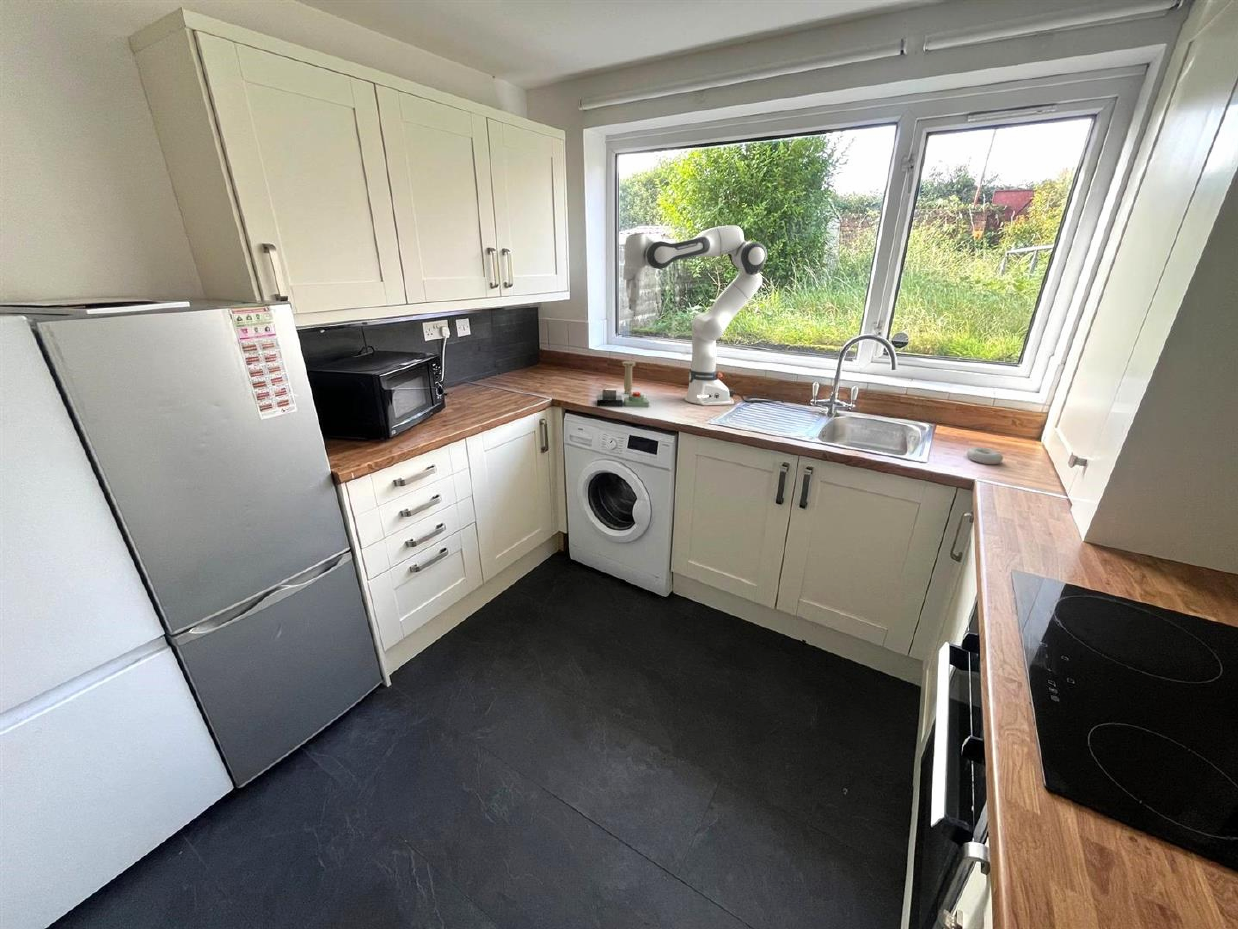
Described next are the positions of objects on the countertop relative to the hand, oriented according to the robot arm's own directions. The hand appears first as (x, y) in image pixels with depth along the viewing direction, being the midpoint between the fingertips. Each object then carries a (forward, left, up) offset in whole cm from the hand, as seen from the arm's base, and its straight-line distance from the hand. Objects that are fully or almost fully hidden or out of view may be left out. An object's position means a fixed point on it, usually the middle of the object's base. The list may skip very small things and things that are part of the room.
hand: (632, 310), depth 213 cm
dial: (+9, +7, -37) cm, 38 cm away
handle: (-1, -14, -40) cm, 42 cm away
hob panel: (+9, +7, -40) cm, 41 cm away
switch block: (-3, +7, -40) cm, 40 cm away
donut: (-114, +74, -40) cm, 141 cm away
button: (-3, +7, -36) cm, 37 cm away
